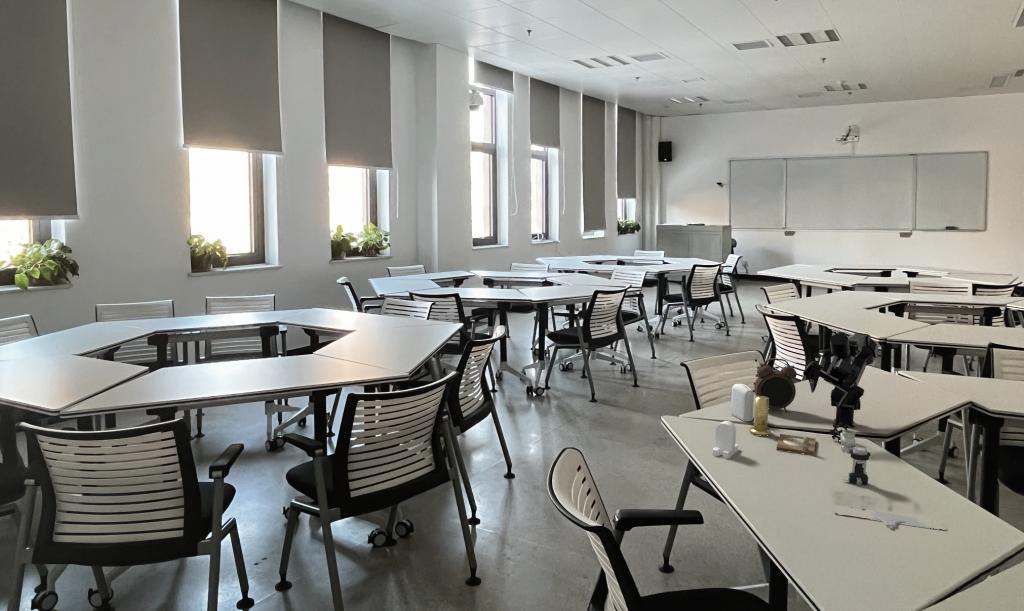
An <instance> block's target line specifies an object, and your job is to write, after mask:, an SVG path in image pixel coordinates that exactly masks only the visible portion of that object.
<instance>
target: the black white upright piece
mask: <svg viewBox="0 0 1024 611" xmlns="http://www.w3.org/2000/svg"><path fill="white" fill-rule="evenodd" d="M849 455H850V458H851V459H852V461H851V470H850V472H848V475H845V476H842V478H843V479H842V481H845V482H848V483H849V484H851V483H853V485H864V486H868V485H869V476H868V474H867V462H868V461H869V460H870V457H871V456H872V453H871V452H870V451H869V450H868V449H867V448H864V447H862V446H854V448H853V449H852V450H850V453H849ZM844 478H845V479H844Z"/></svg>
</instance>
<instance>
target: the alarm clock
mask: <svg viewBox="0 0 1024 611" xmlns="http://www.w3.org/2000/svg"><path fill="white" fill-rule="evenodd" d="M770 361H771V362H772V361H779V362H780V361H781V362H785V363H786V364H787V365H786V366H783V367H782V368H781V369H780V366H774V369H773V367H772V366H771V365H769V364H767V363H768V362H770ZM779 369H780V370H779ZM756 374H757V378H756V380H755V382H754V385H753V386H754V387H753V388H754V391H753V392H754V396H755V397H756V396H766V397H768V398H769V406H768V409H770V410H776V411H777V410H782V409H783V410H784V411H785V413H788V410H787V408H786V407H789V406H790V405H791V404H792V402H794V399H795V397H796V393H797V390H796V385H795V383H794V381H793V380H796V378H797V375H798V374H797V371H796V369H795V365H792V366H791V365H790V364H789V362H788V361H787V360H786V359H784V358H779V357H778V358H775V357H773V358H768V359H766V360H765V361H764V363H761V362H760V364H759V366H758V367H757V369H756Z"/></svg>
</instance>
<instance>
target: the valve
mask: <svg viewBox="0 0 1024 611" xmlns="http://www.w3.org/2000/svg"><path fill="white" fill-rule="evenodd" d="M832 427H833V429H829V433H830V434H833V435H831V438H832V440H836V439H837V441H838V442H839V440H841V442H840V444H841V447H840V451H841V450H842V451H843V452H842V451H841V452H842V453H845V452H847V453H846V454H850V450H852V449H853V448H854V447H855V445H856V439H855V438H856V432H855V431H854V430H850V427H849V426H848V425H845V426H843V423H842V422H839V425H836V424H834V423H833V424H832ZM838 428H840V429H838ZM841 428H842V429H841ZM843 429H844V430H843ZM836 433H837V434H836Z"/></svg>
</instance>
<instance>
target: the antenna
mask: <svg viewBox="0 0 1024 611" xmlns="http://www.w3.org/2000/svg"><path fill="white" fill-rule="evenodd" d="M851 507H852V506H850V508H851ZM853 507H854V508H855V509H860V507H856V506H853ZM858 511H859V510H858ZM874 511H875V512H876V513H874V512H873V513H874V514H875V515H876V516H875V515H874V516H873V518H872V519H870V521H875V520H876V522H881V523H883V524H884V526H885V527H886V528H889V530H890V531H891V530H892V531H894V529H897V528H898V527H897V526H898V525H903V526H910V527H917V528H923V529H930V528H931V527H933V526H931V527H929V526H925V524H923V523H919V521H918V520H917V519H916V518H917V517H912V516H907V515H902V514H901V515H900V514H895V513H890V512H885V511H884V512H883V511H879V510H878V511H877V510H874ZM871 514H872V513H871ZM872 515H873V514H872ZM911 517H912V518H913V519H912V518H911ZM874 518H875V519H874ZM914 519H915V520H914ZM916 520H917V521H918V522H917V521H916ZM921 524H923V525H921ZM936 529H937V528H934V529H933V528H931V529H930V530H936ZM939 529H940V528H939ZM939 529H937V531H938V530H939ZM939 531H940V530H939Z"/></svg>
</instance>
